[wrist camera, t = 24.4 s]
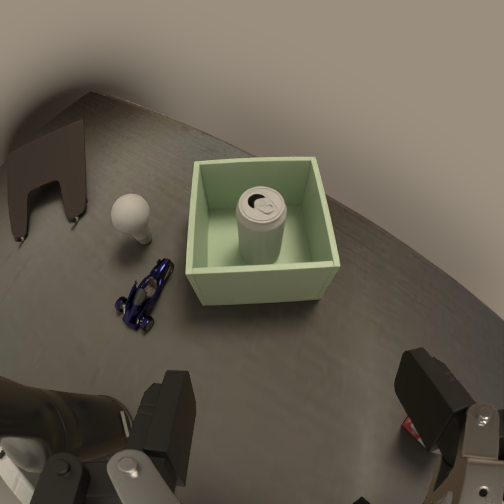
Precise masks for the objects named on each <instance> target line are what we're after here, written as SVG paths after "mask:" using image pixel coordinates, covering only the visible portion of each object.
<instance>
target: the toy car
mask: <svg viewBox="0 0 504 504" xmlns="http://www.w3.org/2000/svg"><path fill="white" fill-rule="evenodd" d="M173 268H174V264H173V263H172V262H171V261H170V259H165V258H164V259H163V260H162V261H161V259H159V260H158V261H157V265H156V266H155V267H154V268H153V269H152V271H151V272H150V275H148V276H147V277H145V278H144V279H143V280H142V282H141V283H140V284H139V286H138V288H136V284H137V281H135V284H134V286H133V287H132V290H131V292H130V294H129V297H128V299H127V298H125V297H120V298H119V299H118V300H117V301H116V303H115V307H116V309H117V310H118V311H119V312H123V311H124V316H123V318H122V319H123V321H125V322H126V323H127V324H128V325H130V326H131V327H132V328H134V329H135V330H137V329H138V328H139V327H140V326H141V329H142V330H144V331H146V332H147V331H149V330H150V329H151V328H152V326H153V324H154V319H153V318H152V317H151V316H148V314H149V312H150V309H151V306H152V305H153V304H154V303H155V301H156V300H157V298H158V296H159V294H160V292H161V288H162V286H163V284H164V281H165V278H167V277H168V276H169V275H170V274H171V273H172V271H173ZM147 279H149V281H148V282H146V280H147ZM145 282H146V283H145ZM143 283H144V284H143ZM148 284H149V286H147V285H148ZM142 285H143V286H142ZM141 286H142V287H141ZM146 286H147V287H146ZM145 287H146V288H145Z"/></svg>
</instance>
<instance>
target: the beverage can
mask: <svg viewBox="0 0 504 504" xmlns="http://www.w3.org/2000/svg"><path fill="white" fill-rule="evenodd" d="M286 214H287V208H286V205H285V203H284V199H283V197H282V196H281V194H280V193H279V192H277V191H276V190H274V189H272V188H269V187H264V186H258V187H253V188H250V189H248V190H247V191H245V192H244V193H243V194H242V195H241V197H240V199H239V202H238V204H237V206H236V217H237V228H238V238H239V249H240V253H241V255H242V257H243V258H244V260H246V261H247V262H248V263H250V264H252V265H266V264H271V263H272V262H274V261H275V260H276V259H277V258H278V256H279V254H280V251H281V245H282V239H283V233H284V227H285V221H286Z"/></svg>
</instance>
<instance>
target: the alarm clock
mask: <svg viewBox="0 0 504 504" xmlns="http://www.w3.org/2000/svg"><path fill="white" fill-rule="evenodd" d="M353 504H370V503H369V502H368V501H366V500H365V499H364V498H363V497H361V498H359V499H358V500H357V501H356V502H354V503H353Z"/></svg>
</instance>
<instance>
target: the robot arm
mask: <svg viewBox="0 0 504 504" xmlns="http://www.w3.org/2000/svg"><path fill="white" fill-rule="evenodd" d="M394 387H395V393H396V395H397V397H398V399H399V400H400V402H401V404H402V406H403V407H404V409H405V411H406V413H407V415H408V416H409V418H410V420H411V422H412V424H413V425H414V427H415V429H416V431H417V433H418V435H419V436H420V438H421V440H422V442H423V444H424V446H425V448H426V450H427V451H428V453H430V452H433V451H435V450H437V449H439V450H440V452H441V453H440V455H439V457H438V460H437V464H436V467H435V471H434V475H433V478H432V482H431V485H430V488H429V491H428V494H427V496H426V498H425V500H424V502H423V503H422V504H502V500H503V501H504V409H502V410H496V409H495V408H494V407H493V406H492V405H490V404H487V403H482V402H481V403H476V402H475V401H474V400H473V399H472V397H471V396H470V395H469V393H468V392H467V391H466V390H465V388H464V387H463V386H462V385H461V383H460V382H459V381H458V380H456V377H455V376H454V375H453V374H452V373H451V371H450V370H449V369H448V368H447V366H446V365H445V364H444V363H443V362H441V361H439V360H438V359H436V358H435V357H431V356H430V355H429V354H428V352H427V351H426V350H425V349H424V348H417V349H412V350H408V351H405V352H404V353H403V355H402V358H401V362H400V365H399V368H398V372H397V375H396V378H395V383H394ZM140 404H141V405H140V406H139V408H138V411H137V414H136V417H135V420H134V422H133V421H132V418H131V416H130V414H129V412H128V410H127V409H126V408H125V406H124V405H123V404H122V403H120V402H119V401H118V400H116V399H114V398H112V397H109V396H104V395H86V394H77V393H68V392H60V391H53V390H46V389H40V388H34V387H29V386H24V385H22V384H19V383H17V382H14V381H12V380H9V379H7V378H4V377H2V376H0V445H1V447H2V449H3V450H2V451H1V453H0V458H2V457H3V455H4V454H5V453H6V455H7V456H8V457H9V458H10V459H11V460H12V461H13V462H14V463H15V464H16V465H17V466H19V467H20V468H22V469H24V470H26V471H29V472H42V473H41V475H40V478H39V480H38V483H37V485H36V488H35V491H34V493H33V496H32V499H31V502H30V504H181V503H180V502H179V501H178V499H177V498H176V497H175V495H174V492H175V486H183V487H185V484H186V477H187V470H188V463H189V456H190V449H191V442H192V436H193V429H194V423H195V417H196V401H195V397H194V392H193V388H192V384H191V379H190V375H189V372H188V371H176V370H167V371H166V373H165V376H164V379H163V382H162V384H156V383H153V384H152V385H151V386H150V387H149V388H148V389H147V390H146V391H145V392H144V395H143V398H142V400H141V403H140ZM111 454H114V455H113V456H112V457H111V458H110V459H109V460H108V461H101V462H87V461H90V460H94V459H97V458H101V457H104V456H108V455H111Z"/></svg>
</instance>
